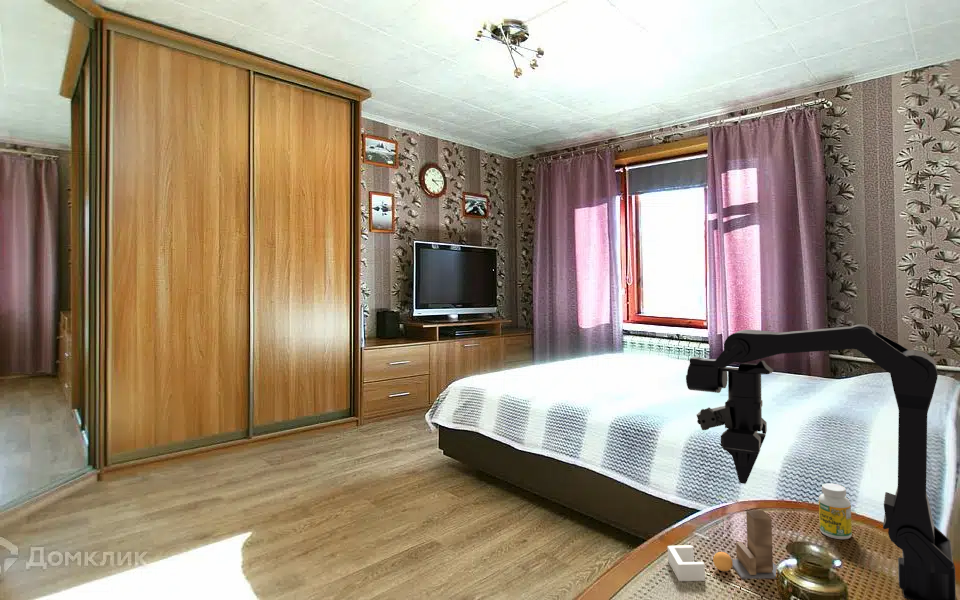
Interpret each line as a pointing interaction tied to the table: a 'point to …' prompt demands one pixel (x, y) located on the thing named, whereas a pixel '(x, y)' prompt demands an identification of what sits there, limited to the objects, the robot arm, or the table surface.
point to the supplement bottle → (835, 512)
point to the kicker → (757, 544)
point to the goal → (685, 563)
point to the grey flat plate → (745, 574)
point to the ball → (722, 561)
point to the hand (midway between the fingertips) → (745, 476)
